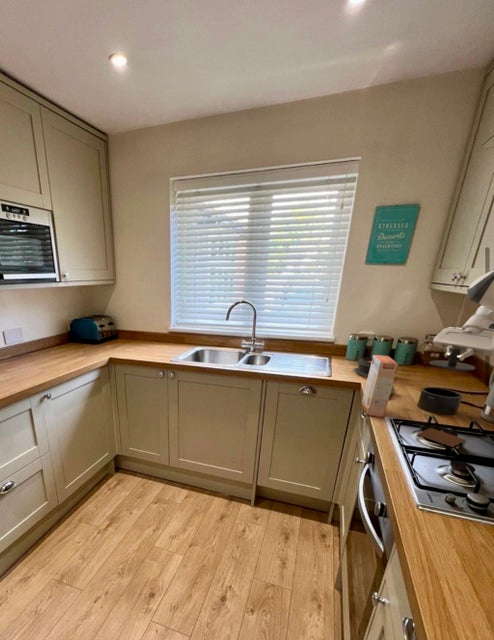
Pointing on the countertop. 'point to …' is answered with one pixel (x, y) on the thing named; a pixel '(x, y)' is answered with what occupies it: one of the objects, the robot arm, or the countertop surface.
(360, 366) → the dark grey rounded piece
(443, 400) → the pot
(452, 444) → the plate
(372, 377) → the cracker box
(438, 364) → the lid
